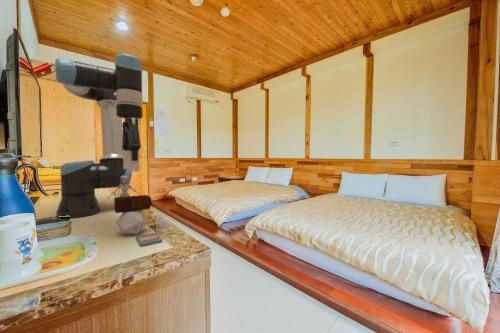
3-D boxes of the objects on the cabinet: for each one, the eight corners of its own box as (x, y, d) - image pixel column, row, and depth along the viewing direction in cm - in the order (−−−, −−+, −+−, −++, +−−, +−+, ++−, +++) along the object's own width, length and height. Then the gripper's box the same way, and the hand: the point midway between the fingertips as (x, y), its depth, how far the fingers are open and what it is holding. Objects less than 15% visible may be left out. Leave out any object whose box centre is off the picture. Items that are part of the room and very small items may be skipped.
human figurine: (107, 224, 83) (106, 176, 82) (107, 221, 86) (106, 175, 85) (142, 219, 89) (141, 175, 88) (141, 217, 92) (140, 174, 92)
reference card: (135, 238, 69) (135, 236, 69) (155, 234, 73) (155, 232, 73) (140, 246, 63) (140, 244, 63) (162, 242, 66) (162, 239, 66)
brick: (115, 213, 69) (115, 199, 69) (114, 211, 72) (113, 197, 72) (151, 209, 76) (151, 195, 75) (149, 206, 79) (148, 193, 79)
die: (125, 241, 68) (146, 215, 71) (105, 226, 69) (125, 200, 72) (138, 241, 76) (156, 217, 78) (119, 227, 77) (137, 204, 80)
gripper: (112, 109, 80) (114, 168, 81) (121, 95, 60) (122, 173, 61) (135, 112, 84) (136, 167, 85) (150, 100, 64) (151, 172, 65)
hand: (130, 170), depth 73 cm, fingers open, 13 cm apart
